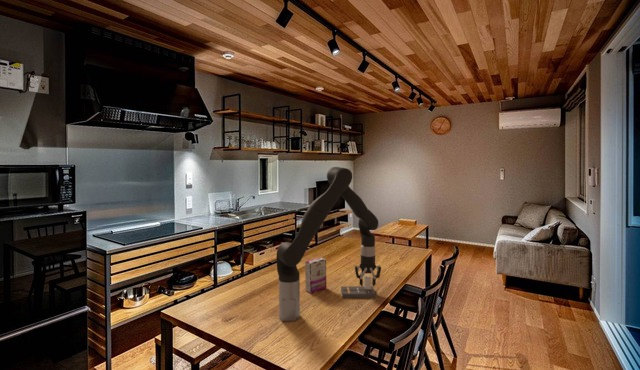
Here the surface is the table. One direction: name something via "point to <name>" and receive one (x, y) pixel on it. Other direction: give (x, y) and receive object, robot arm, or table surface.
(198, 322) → the table surface
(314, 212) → the robot arm
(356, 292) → the fader console
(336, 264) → the table surface
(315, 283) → the candy bar box
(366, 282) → the fader knob
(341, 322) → the table surface
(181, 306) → the table surface
